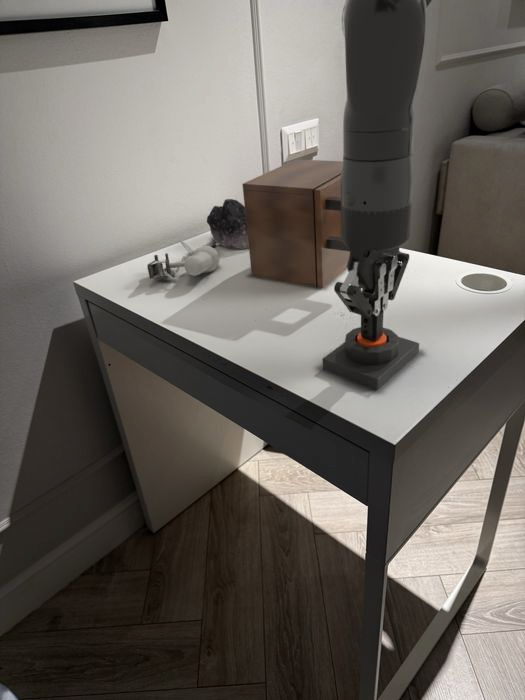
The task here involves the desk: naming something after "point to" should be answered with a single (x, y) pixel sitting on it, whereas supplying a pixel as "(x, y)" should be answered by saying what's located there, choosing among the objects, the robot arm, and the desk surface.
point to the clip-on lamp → (187, 262)
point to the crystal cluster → (229, 224)
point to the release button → (368, 343)
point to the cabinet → (286, 220)
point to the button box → (370, 359)
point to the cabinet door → (329, 232)
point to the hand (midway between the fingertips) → (371, 337)
